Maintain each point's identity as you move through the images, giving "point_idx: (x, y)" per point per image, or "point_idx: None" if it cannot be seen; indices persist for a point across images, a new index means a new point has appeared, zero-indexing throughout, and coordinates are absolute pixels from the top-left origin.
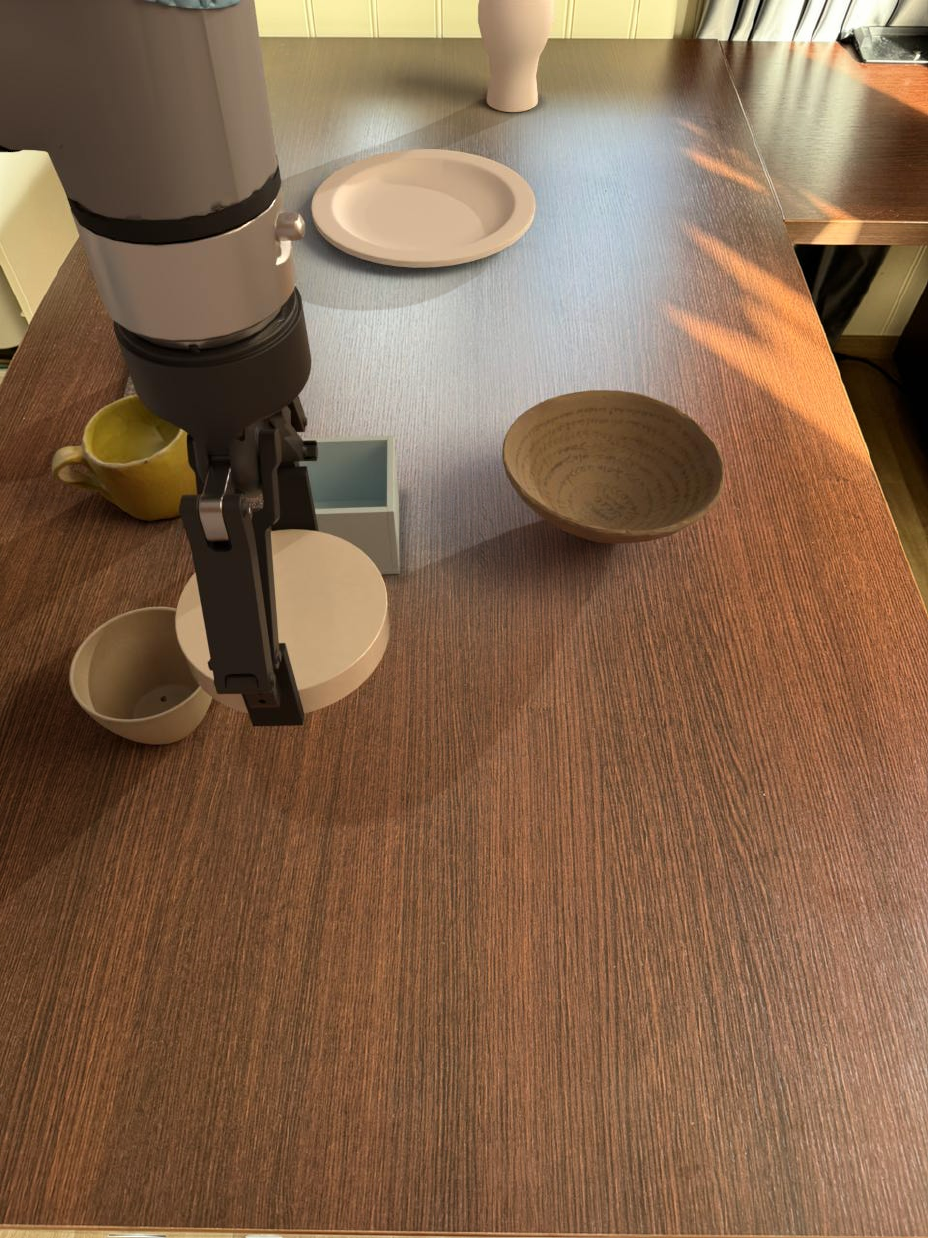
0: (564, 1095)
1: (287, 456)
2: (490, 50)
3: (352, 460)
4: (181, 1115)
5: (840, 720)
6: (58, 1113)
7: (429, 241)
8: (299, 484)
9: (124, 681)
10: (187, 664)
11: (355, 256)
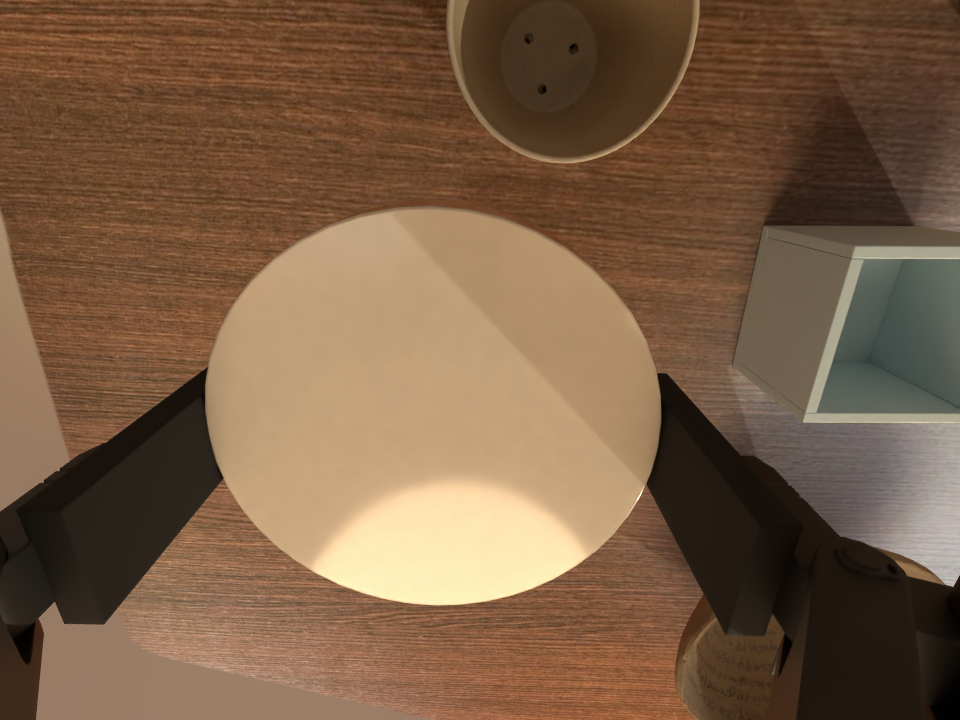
0: None
1: (777, 684)
2: None
3: (953, 342)
4: (66, 158)
5: (485, 691)
6: (29, 8)
7: None
8: (714, 586)
9: None
10: (614, 87)
11: None
